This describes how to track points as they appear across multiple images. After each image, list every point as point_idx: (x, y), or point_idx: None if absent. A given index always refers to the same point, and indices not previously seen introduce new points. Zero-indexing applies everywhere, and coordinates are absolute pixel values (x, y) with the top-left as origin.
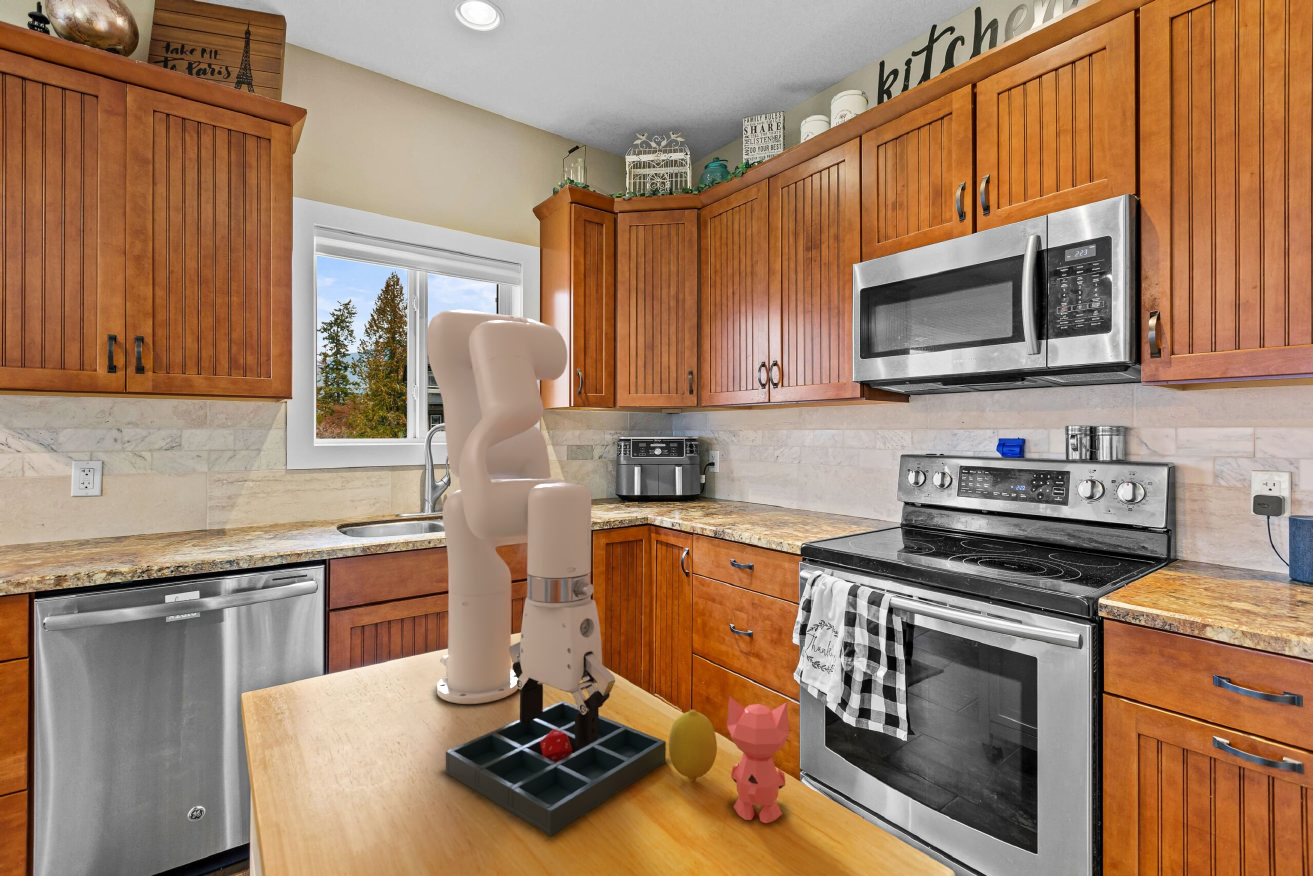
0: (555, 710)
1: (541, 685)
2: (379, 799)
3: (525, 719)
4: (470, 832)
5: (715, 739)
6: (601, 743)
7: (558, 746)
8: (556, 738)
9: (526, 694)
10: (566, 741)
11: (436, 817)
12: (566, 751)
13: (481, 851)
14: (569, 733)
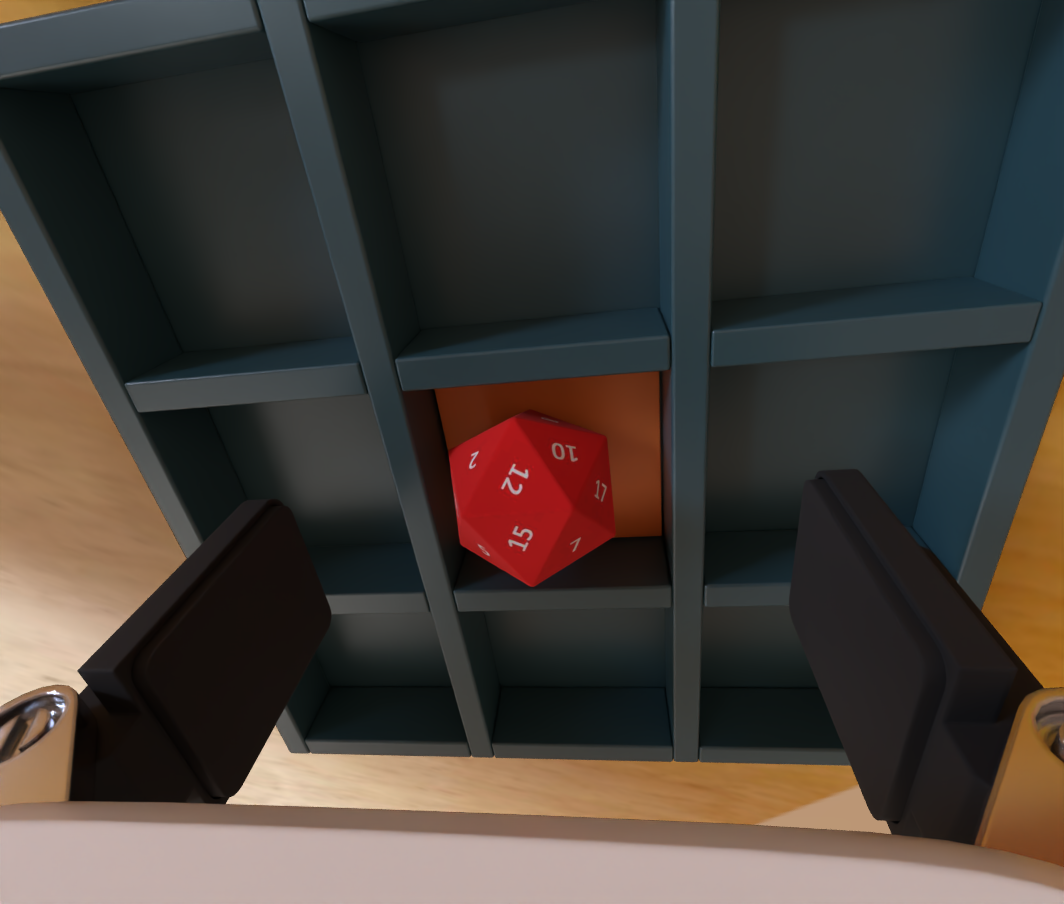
0: (40, 170)
1: (127, 669)
2: (360, 805)
3: (323, 627)
4: (661, 770)
5: None
6: (711, 285)
7: (595, 541)
8: (561, 553)
9: (236, 775)
10: (594, 497)
11: (533, 779)
12: (609, 480)
13: (753, 789)
14: (462, 365)
